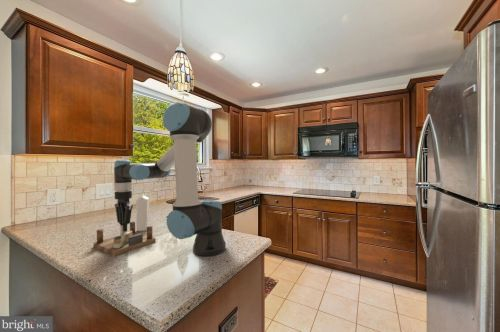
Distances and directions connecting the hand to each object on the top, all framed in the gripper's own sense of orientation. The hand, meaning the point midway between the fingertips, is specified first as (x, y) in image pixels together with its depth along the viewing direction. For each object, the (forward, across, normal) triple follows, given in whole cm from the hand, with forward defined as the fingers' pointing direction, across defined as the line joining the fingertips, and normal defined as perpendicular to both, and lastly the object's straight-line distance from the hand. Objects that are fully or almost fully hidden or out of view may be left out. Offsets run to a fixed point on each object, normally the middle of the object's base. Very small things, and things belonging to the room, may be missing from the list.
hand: (123, 237), depth 107 cm
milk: (+3, +14, -19) cm, 24 cm away
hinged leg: (+1, -6, +3) cm, 7 cm away
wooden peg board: (+3, -2, 0) cm, 4 cm away
